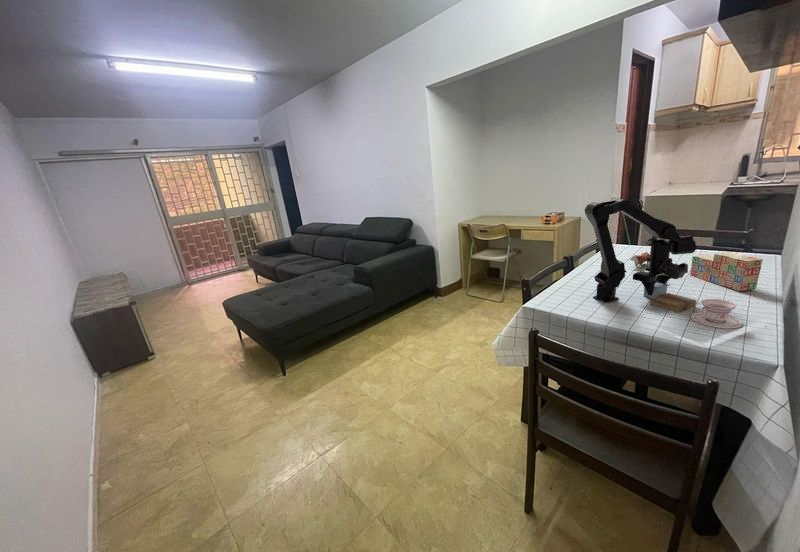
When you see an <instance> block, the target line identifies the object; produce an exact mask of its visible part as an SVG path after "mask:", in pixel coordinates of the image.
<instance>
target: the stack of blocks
mask: <svg viewBox="0 0 800 552" xmlns="http://www.w3.org/2000/svg"><path fill="white" fill-rule="evenodd" d="M763 261H764V260H763V258H761V257H759V258H758V257H754V256H753V255H752V256H751V255H747V254H746V255H745V254H740V253H736V252H730V251H729V252H728V251H725V252H718V253H714V254H713V255H710V254H705V253H704V254H699V255H698V254H697V255H692V258H691V267H690V274H689V275H690V276H691V277H693V276H694V278H697V279H698V280H699V279H700V280H703V281H706V282H710V283H712V284H713V283H714V284H715V285H718V286H723V287H726V288H729V289H730V290H731V289H732V290H735V291H738V292H745V291H746V292H747V291H754V290H756V289H757V286H758V280H759V277H760V273H761V269H762V263H763Z"/></svg>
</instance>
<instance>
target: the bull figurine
mask: <svg viewBox="0 0 800 552" xmlns="http://www.w3.org/2000/svg"><path fill="white" fill-rule="evenodd" d="M649 257H650V252H649V253H648V251H645V252H642V253H640V254H639V253H638V254H635V253H633V254H632V255H631V256H630V258H629V261H632V262H634V265H635V267H636V268H637V267H638V268H639V269H641V268H642V266H643V265H642V264H644V263H646V265H647V266H649V261H647V258H649Z"/></svg>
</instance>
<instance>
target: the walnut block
mask: <svg viewBox="0 0 800 552" xmlns="http://www.w3.org/2000/svg"><path fill="white" fill-rule="evenodd" d="M650 300H651V301H650V305H651V306H653V307H654V306H655V307H657V308H661V309H664V310H667V311H672V312H675V313H680V312H683V311H687V310H691V309H692V308H695V307H696V304H697V299H694V298H693V299H692V298H688V297H686V296H681V295H677V294H674V293H669V292H666V294H663V295H660V296H657V297H654V298H650Z"/></svg>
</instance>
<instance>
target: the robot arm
mask: <svg viewBox="0 0 800 552" xmlns="http://www.w3.org/2000/svg"><path fill="white" fill-rule="evenodd" d="M619 212H620V213H622V214H624V215H625V216H627V217H628V218H630V219H631V220H633V221H635V222H637V223H638V224H640V225H641V226H642V227H644V229H645V231H646V232H647V233H648V234H649V235H651V236H652V237H651V238H649V239H648V240H646V241H644V245H646V246H647V245H648V246H650V251H649V254H650V257H649V258H647V261H649V265H648V267H645V271H644V270H641V271H637V272H635V273H632V280H634V281H636V282H637V281H638V282H641V284H642V285H643V288H644V287H645V289H646V291H647V293H648V295H650V296H651V295H652V293H653V290H654V286H655V283H657V282H658V283H662V284H666V285H667V283H668V282H669V280H671V279H673V280H678V279H682V278H683V277H684V276H685V274H687V273H688V272H689V265H688V263H685V262H682V263H680V264H678V263H674V262H673V258H671V257H670V253H671V254H672V255H688V254H693V253H695V252H696V251H697V246H698V245H697V243H696V241H695V239H694V236H693V235H686V234H685V235H683V236H681V235H679V233H678V232H677V227H676V225H675V224H672V223H670V222H667V221H665V220H662V219H658V218H656V217H654V216H652V215H651V214H649V213H647V212H646V211H644V210H642V209H641V208H639V206H636V205H635V204H634V203H631V202H630V201H629V199H625V198H618V199H614V200H610V201H609V200H608V201H602V202H595V201H593V202H590V203H588V204H587V205H586V207H585V208H584V214H585V216H586V219H587V221H588V222H589V223H590V224H591V226H592V227H593V229H594V233H595V237H596V242H597V245H598V249H599V253H600V257H601V264H600V271H599V272H598V273H597V274H595V276H594V281H595V282H596V283H597V284H596V295H594V296H592V298H593V299H596V300H599V301H601V302H604V303H609V302H614V301H617V300H619V297H618V296H616V294H617V291H616V290H617V288H619V287H620V285H621V282H622V281H623V280H624V279H625V277H626V273H627V270H626V269H625V268H626V267H625V262H623V261H621V260H619V259H617V256H616V252H615V249H614V244H613V240H612V237H611V232H610V229H609V220H610V216H611V215H614V214H616V213H619ZM653 237H654V238H653ZM655 238H658V239H655ZM647 261H646V262H647Z"/></svg>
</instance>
